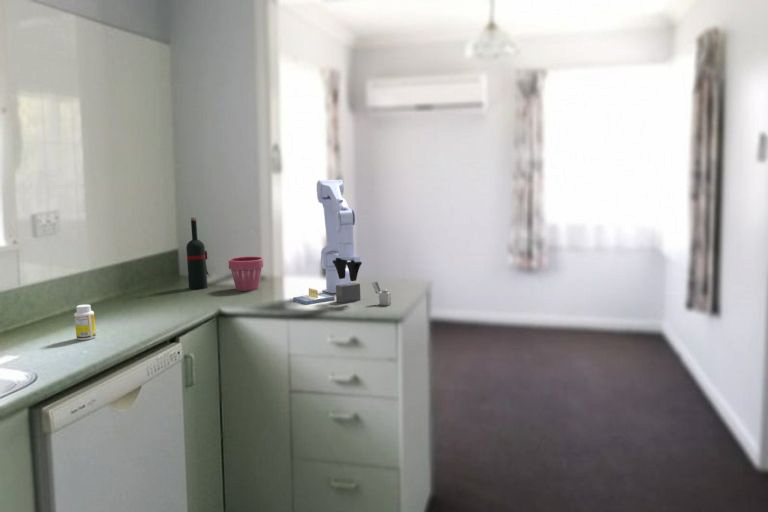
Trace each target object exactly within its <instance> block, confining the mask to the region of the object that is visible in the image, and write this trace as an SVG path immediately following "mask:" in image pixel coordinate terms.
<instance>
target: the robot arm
mask: <svg viewBox="0 0 768 512" xmlns="http://www.w3.org/2000/svg"><path fill="white" fill-rule="evenodd" d="M344 188H345V187H344V182H343V180H342V179H340V178H339V179H330V180H326V179H325V180H320V179H318V180H317V182H316V197H317V201H318V203H320V204H322V207H323V214H324V225H325V235H326V243H327V244H326V245H325V246H324V247H323V248H322V249H321V251H320V264H321V268H322V269H324V270H325V286H326V288H325V289H322V292H326V293H329V294H336V285H341V284H348V283H352V282H356V281H357V279H358V274H359V270H360V268H361V266H362V261H361V256H360V255H357V254H355V236H354V233H355V231H354V226H355V223H356V215H355V210H354V209H352V208H350V207H349V204H348V202H347V200H346V199H345V198H343V194H344Z"/></svg>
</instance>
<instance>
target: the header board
mask: <svg viewBox="0 0 768 512" xmlns="http://www.w3.org/2000/svg"><path fill="white" fill-rule="evenodd" d="M334 300H335V296H334V295H330V294H325V293H322V292H320V293H319V290H318V289H316V288H312V287H308V294H306V295H302V296H295V297H292V301H293V302H297V303H299V304H303V305H306V306H307V305H313V304H319V303H324V302H329V301H334Z"/></svg>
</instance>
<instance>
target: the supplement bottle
mask: <svg viewBox="0 0 768 512" xmlns="http://www.w3.org/2000/svg"><path fill="white" fill-rule="evenodd" d="M91 307H92V306H91V304H79V305H77V306H76V312H74V325H75V335H76V336H75V337H76V339H77V341H78V340H79V341H89V340H93V339H95V338H96V337H97V331H96V329H97V328H96V321H95V312H94V311H93V310H92V308H91Z"/></svg>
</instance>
